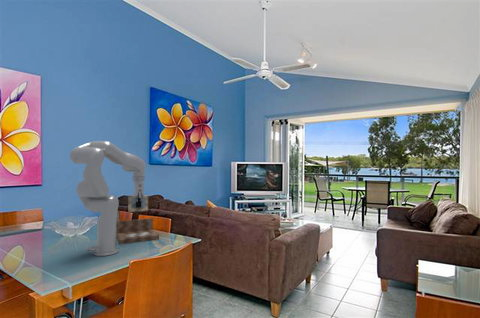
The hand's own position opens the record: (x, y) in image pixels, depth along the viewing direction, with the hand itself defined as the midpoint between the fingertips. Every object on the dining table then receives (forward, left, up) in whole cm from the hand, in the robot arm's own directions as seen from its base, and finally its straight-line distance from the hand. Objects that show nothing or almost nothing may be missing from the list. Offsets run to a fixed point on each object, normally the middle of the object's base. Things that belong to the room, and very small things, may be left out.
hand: (138, 206), depth 178 cm
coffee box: (-14, +22, -21) cm, 34 cm away
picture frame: (0, 0, -3) cm, 3 cm away
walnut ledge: (0, +2, -21) cm, 21 cm away
